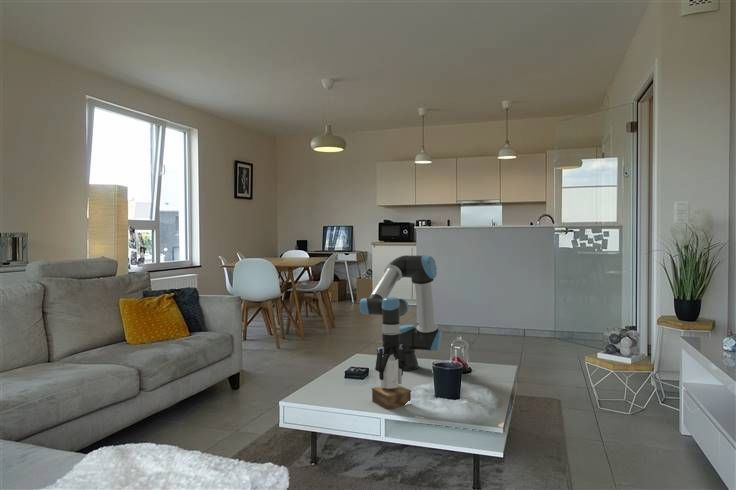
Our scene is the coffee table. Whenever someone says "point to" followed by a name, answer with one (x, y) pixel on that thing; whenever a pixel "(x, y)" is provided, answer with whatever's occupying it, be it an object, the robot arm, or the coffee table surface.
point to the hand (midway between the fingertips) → (391, 385)
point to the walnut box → (391, 397)
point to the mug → (391, 373)
